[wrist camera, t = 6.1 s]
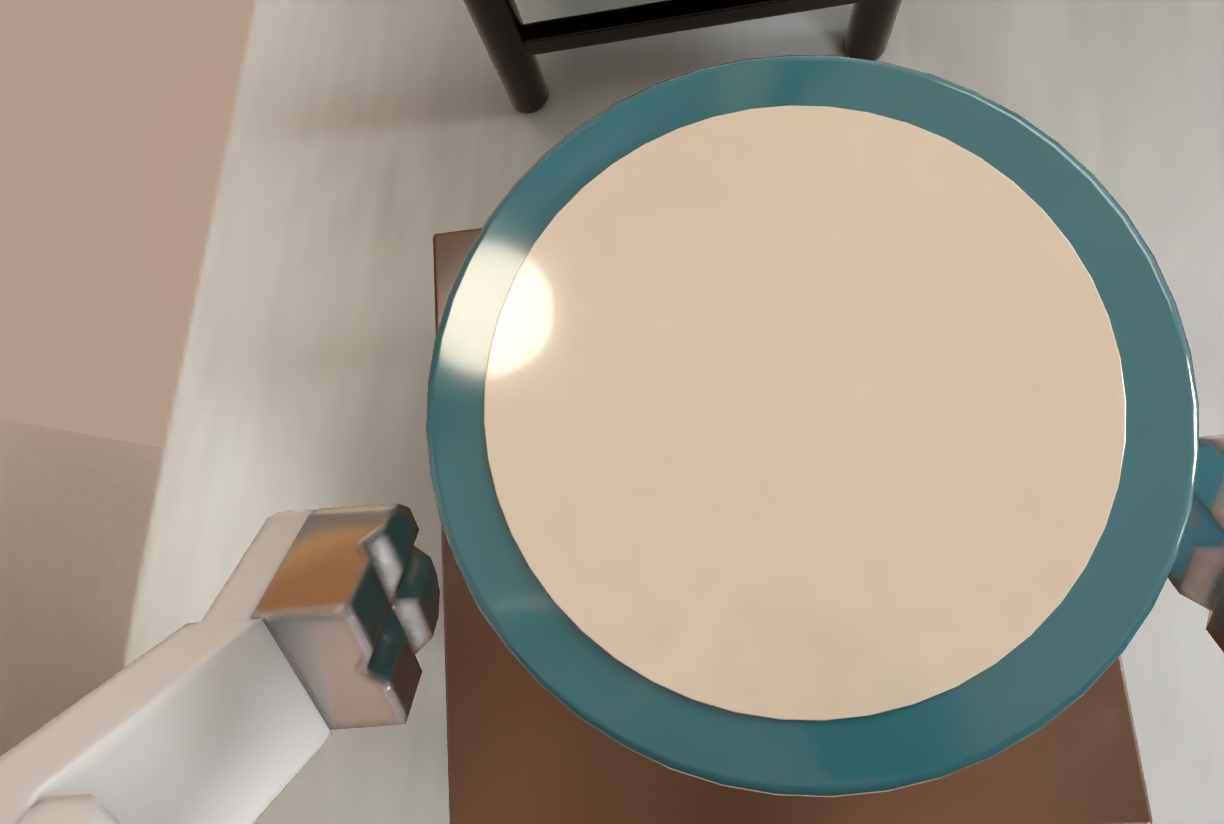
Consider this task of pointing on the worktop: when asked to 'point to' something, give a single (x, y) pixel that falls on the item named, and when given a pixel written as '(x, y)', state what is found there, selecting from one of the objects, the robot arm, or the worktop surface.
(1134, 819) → the brown display stand
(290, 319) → the worktop surface
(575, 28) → the dark brown wooden table
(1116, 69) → the worktop surface
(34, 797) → the robot arm
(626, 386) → the cup
